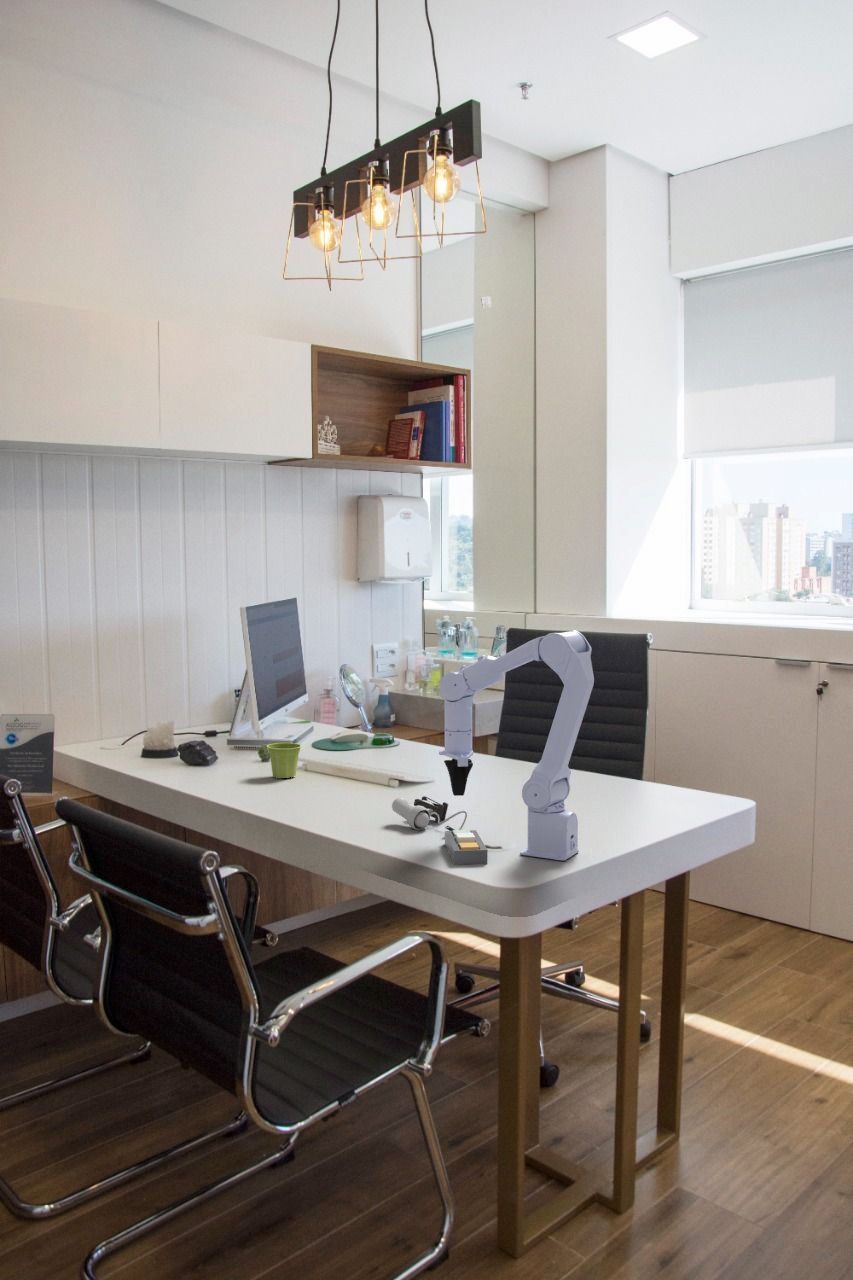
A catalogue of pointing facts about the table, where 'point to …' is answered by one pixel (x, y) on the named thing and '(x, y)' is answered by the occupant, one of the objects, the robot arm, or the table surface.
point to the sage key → (460, 832)
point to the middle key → (465, 837)
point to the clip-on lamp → (423, 812)
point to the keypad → (466, 855)
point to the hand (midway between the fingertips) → (458, 794)
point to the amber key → (468, 846)
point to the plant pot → (284, 759)
